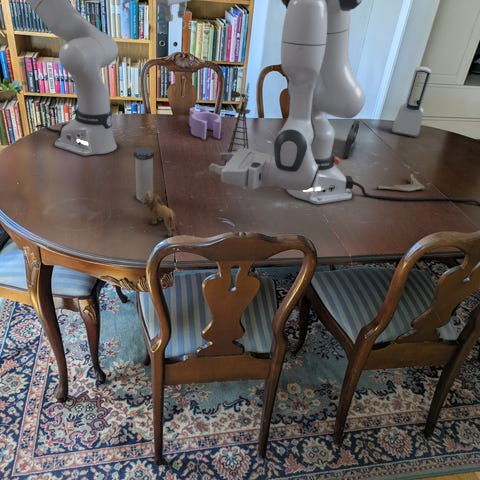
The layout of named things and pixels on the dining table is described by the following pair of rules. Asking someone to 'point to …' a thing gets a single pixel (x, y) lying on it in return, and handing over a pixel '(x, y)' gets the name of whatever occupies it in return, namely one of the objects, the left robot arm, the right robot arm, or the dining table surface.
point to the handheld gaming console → (351, 139)
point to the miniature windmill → (244, 112)
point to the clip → (204, 123)
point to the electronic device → (411, 110)
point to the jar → (143, 177)
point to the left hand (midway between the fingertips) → (175, 19)
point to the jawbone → (405, 186)
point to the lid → (143, 153)
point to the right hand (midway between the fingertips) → (215, 160)
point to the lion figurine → (159, 210)
